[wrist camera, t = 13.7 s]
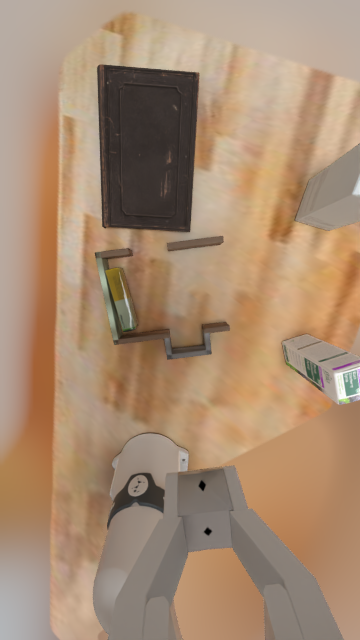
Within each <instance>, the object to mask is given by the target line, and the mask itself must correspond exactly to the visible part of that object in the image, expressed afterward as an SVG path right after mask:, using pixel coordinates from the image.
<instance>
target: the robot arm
mask: <svg viewBox="0 0 360 640" xmlns="http://www.w3.org/2000/svg"><path fill="white" fill-rule="evenodd" d="M188 457H189V452H188V451H187V450H186V449H183V448H181V447H178V446H177V445H176V444H175V443H174V442H172V441H171V440H170V439H168V438H167V437H165V436H162V435H159V434H152V433H148V434H141V435H138V436H136V437H134V438H132V439H131V440H129V441H128V442H127V443H126V445H125V446H124V448H123V450H122V452H121V453H120V454H119V455H117V456H116V457H115V458H114V459H113V462H112V466H113V468H114V470H115V473H114V477H113V481H112V486H111V490H110V496H111V498H112V501H113V504H112V507H111V509H110V513H109V519H108V524H107V528H108V532H107V536H106V539H105V543H104V547H103V551H102V554H101V558H100V562H99V565H98V569H97V573H96V577H95V580H94V586H93V604H94V610H95V613H96V616H97V618H98V620H99V622H100V624H101V626H102V627H103V629H104V630H105V631H106V633H107V634H108V635H109V636H108V640H183V638H182V635H181V632H180V628H179V625H178V621H177V616H176V612H175V607H174V600H173V598H174V595H175V592H176V589H177V586H178V583H179V580H180V577H181V574H182V571H183V568H184V565H185V562H186V559H187V556H188V552H194V551H201V550H207V549H218V548H233V550H234V552H235V553H236V555H237V556H238V558H239V560H240V561H241V563H242V564H243V566H244V568H245V569H246V571H247V572H248V574H249V576H250V577H251V579H252V580H253V582H254V583H255V585H256V587H257V588H258V590H259V592H260V593H261V595H262V596H263V598H264V623H265V640H344V639H343V637H342V635H341V633H340V630H339V628H338V626H337V624H336V622H335V620H334V617H333V615H332V613H331V611H330V609H329V606H328V604H327V602H326V600H325V598H324V595H323V593H322V591H321V589H320V587H319V585H318V582H317V580H316V578H315V577H314V576H313V575H312V574H311V573H310V572H309V571H308V570H307V568H306V567H305V566H304V565H303V564H302V563H301V562H300V561H299V560H298V559H297V557H296V556H295V555H294V554H293V553H292V552H291V551H290V550H289V549H288V547H287V546H285V544H284V543H283V542H282V541H281V540H280V539H279V538H278V537H277V535H276V534H275V533H274V532H273V531H272V530H271V529H270V528H269V527H268V526H267V524H266V523H265V522H264V521H263V520H262V519H261V518H260V517H259V516H258V515H257V514H256V512H255V511H254V510H253V509H248V506H247V503H246V500H245V497H244V493H243V490H242V487H241V484H240V480H239V477H238V474H237V471H236V468H235V466H225V467H214V468H207V469H200V470H193V471H187V468H188Z"/></svg>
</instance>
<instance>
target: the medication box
mask: <svg viewBox="0 0 360 640" xmlns="http://www.w3.org/2000/svg"><path fill="white" fill-rule="evenodd" d="M105 272H106V275H107V278H108V282H109V285H110V289H111V292H112V295H113V299H114V302H115V305H116V309H117V312H118V316H119V319H120V322H121V326H122V329H123V332H128V331H132V330H135V329H136V328H137V326H138V321H137V318H136V314H135V310H134V307H133V303H132V299H131V296H130V292H129V288H128V285H127V281H126V278H125V274H124V271H123V269H121V268H113V269H109V270H106V271H105Z"/></svg>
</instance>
